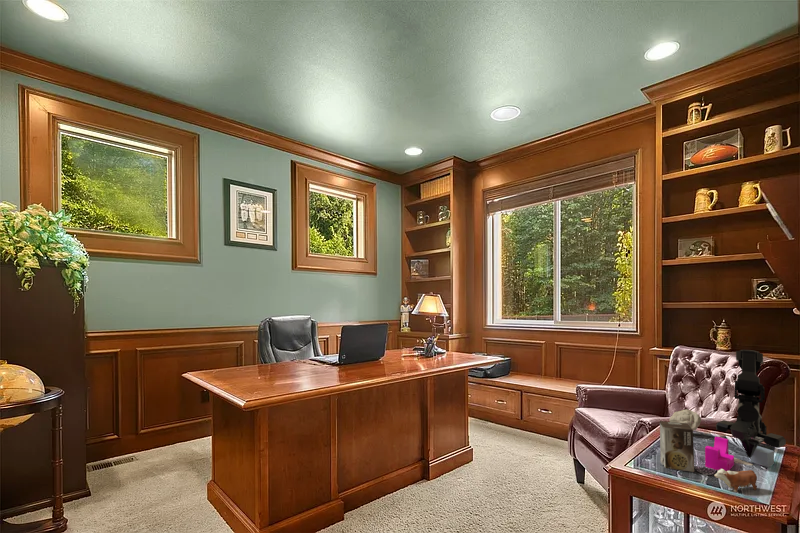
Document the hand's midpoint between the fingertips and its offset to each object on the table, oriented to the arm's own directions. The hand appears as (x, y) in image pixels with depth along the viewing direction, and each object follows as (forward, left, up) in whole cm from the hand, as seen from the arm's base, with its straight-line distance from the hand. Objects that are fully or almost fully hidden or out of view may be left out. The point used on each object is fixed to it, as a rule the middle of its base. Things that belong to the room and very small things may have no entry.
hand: (749, 456), depth 149 cm
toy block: (+7, -6, -4) cm, 10 cm away
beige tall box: (+24, -12, -4) cm, 27 cm away
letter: (+2, -5, -4) cm, 7 cm away
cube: (-8, +1, -4) cm, 9 cm away
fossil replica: (-14, -29, -4) cm, 33 cm away
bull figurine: (+24, +7, -4) cm, 25 cm away
